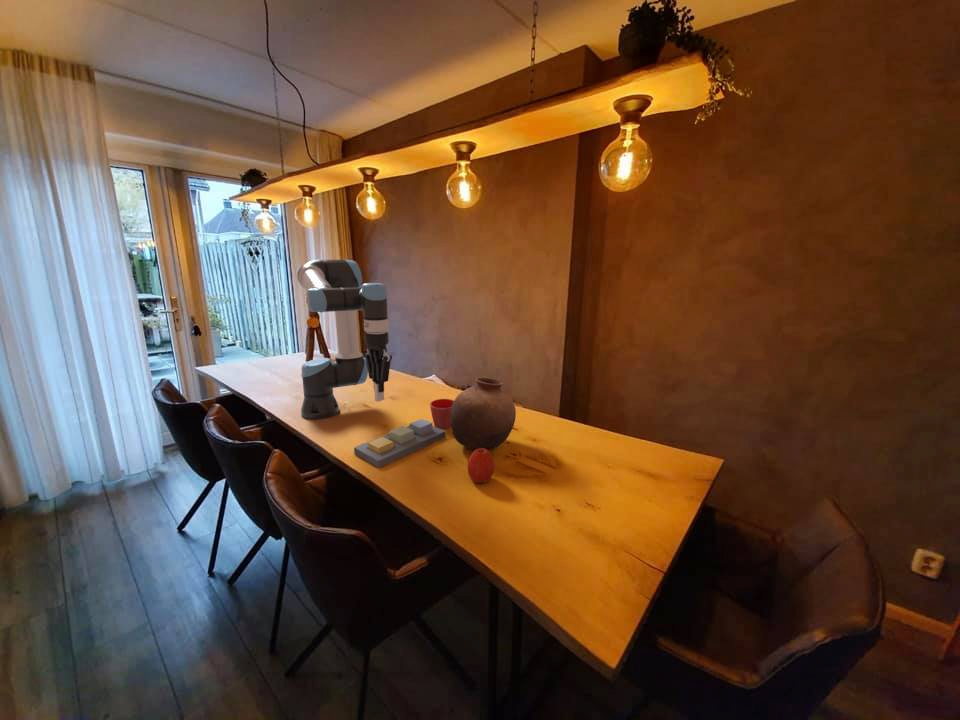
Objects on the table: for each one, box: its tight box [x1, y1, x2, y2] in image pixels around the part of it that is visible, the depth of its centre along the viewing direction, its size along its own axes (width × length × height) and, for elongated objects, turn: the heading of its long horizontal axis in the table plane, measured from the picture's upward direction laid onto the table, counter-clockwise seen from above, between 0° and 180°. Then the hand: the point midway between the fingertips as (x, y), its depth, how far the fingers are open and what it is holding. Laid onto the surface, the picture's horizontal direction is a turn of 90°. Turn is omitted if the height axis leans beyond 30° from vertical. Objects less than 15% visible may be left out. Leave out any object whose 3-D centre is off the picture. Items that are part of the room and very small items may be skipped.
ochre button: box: [367, 436, 394, 454], centre depth 129 cm, size 6×6×4 cm
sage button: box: [389, 425, 414, 445], centre depth 136 cm, size 6×6×4 cm
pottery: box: [450, 377, 517, 451], centre depth 134 cm, size 23×23×25 cm
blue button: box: [409, 418, 433, 436], centre depth 143 cm, size 6×6×4 cm
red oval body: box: [467, 448, 496, 484], centre depth 114 cm, size 8×8×11 cm
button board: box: [353, 425, 447, 469], centre depth 136 cm, size 14×30×2 cm, turn 140°
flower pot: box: [429, 398, 455, 430], centre depth 153 cm, size 11×11×10 cm
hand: (379, 400), depth 129 cm, fingers closed
